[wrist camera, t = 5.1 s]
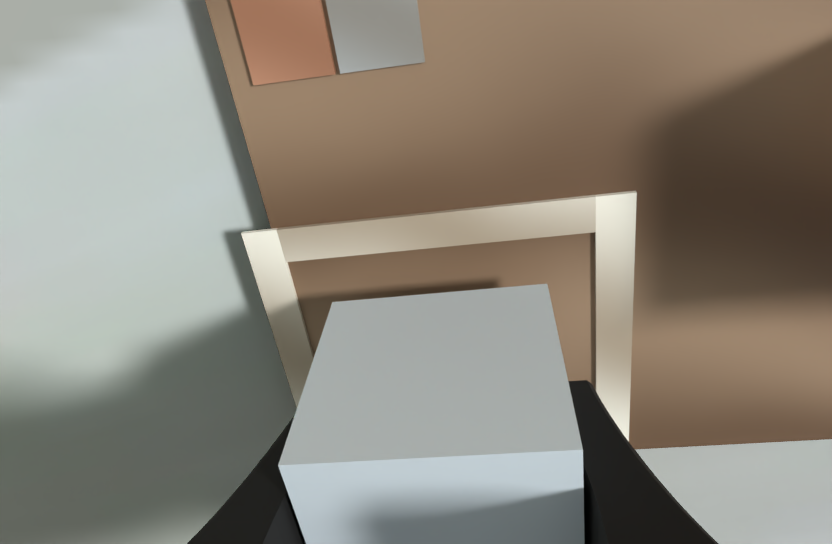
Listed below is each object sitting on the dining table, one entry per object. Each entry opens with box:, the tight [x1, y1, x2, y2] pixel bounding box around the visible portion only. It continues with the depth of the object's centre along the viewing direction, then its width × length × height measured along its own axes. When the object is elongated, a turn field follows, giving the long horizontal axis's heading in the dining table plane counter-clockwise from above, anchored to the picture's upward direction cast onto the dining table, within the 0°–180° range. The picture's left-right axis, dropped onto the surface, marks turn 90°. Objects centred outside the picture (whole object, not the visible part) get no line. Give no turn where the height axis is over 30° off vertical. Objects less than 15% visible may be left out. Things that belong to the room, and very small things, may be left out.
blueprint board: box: [205, 0, 832, 449], centre depth 13 cm, size 13×18×1 cm
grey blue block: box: [278, 284, 585, 544], centre depth 12 cm, size 4×4×4 cm
